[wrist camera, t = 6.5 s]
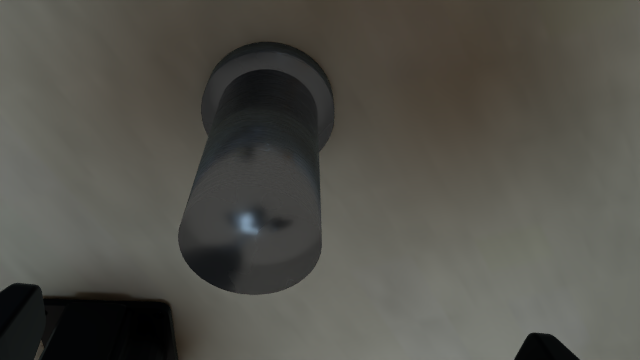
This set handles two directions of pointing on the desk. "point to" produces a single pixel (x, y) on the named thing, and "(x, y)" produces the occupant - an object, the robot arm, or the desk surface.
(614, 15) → the desk surface
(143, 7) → the desk surface
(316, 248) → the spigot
